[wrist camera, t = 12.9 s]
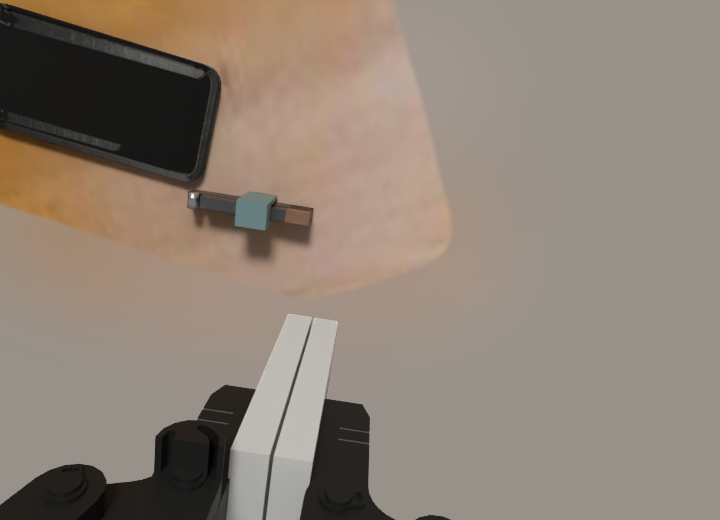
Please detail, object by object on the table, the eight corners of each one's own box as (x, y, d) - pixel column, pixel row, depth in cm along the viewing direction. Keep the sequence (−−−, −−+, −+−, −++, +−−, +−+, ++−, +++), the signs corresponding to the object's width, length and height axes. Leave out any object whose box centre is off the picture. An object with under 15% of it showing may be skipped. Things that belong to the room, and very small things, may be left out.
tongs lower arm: (192, 200, 36) (187, 203, 35) (193, 189, 35) (188, 191, 34) (312, 219, 36) (310, 222, 35) (313, 208, 35) (311, 211, 35)
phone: (-13, -2, 32) (221, 69, 32) (0, 1, 33) (226, 70, 33) (-21, 123, 34) (197, 187, 35) (-8, 122, 35) (203, 184, 36)
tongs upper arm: (189, 205, 35) (185, 207, 34) (190, 190, 34) (186, 191, 34) (309, 225, 35) (307, 227, 34) (311, 209, 34) (309, 211, 34)
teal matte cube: (246, 215, 36) (234, 225, 33) (248, 191, 35) (236, 199, 32) (274, 220, 36) (265, 230, 33) (276, 196, 35) (267, 204, 32)
